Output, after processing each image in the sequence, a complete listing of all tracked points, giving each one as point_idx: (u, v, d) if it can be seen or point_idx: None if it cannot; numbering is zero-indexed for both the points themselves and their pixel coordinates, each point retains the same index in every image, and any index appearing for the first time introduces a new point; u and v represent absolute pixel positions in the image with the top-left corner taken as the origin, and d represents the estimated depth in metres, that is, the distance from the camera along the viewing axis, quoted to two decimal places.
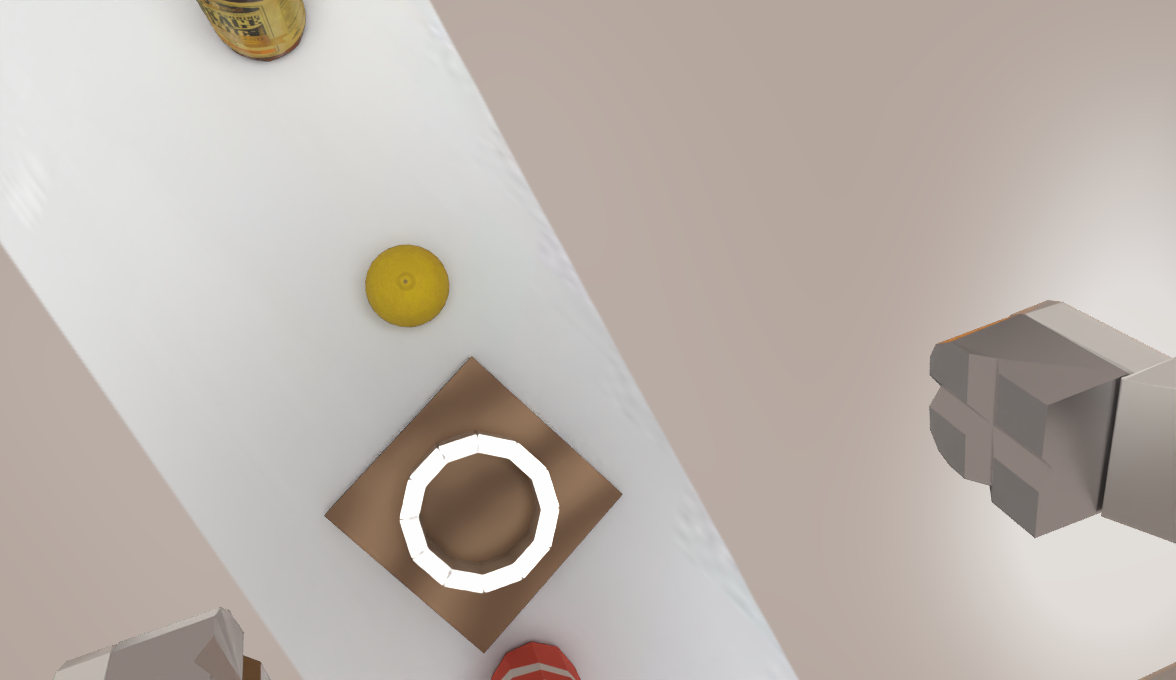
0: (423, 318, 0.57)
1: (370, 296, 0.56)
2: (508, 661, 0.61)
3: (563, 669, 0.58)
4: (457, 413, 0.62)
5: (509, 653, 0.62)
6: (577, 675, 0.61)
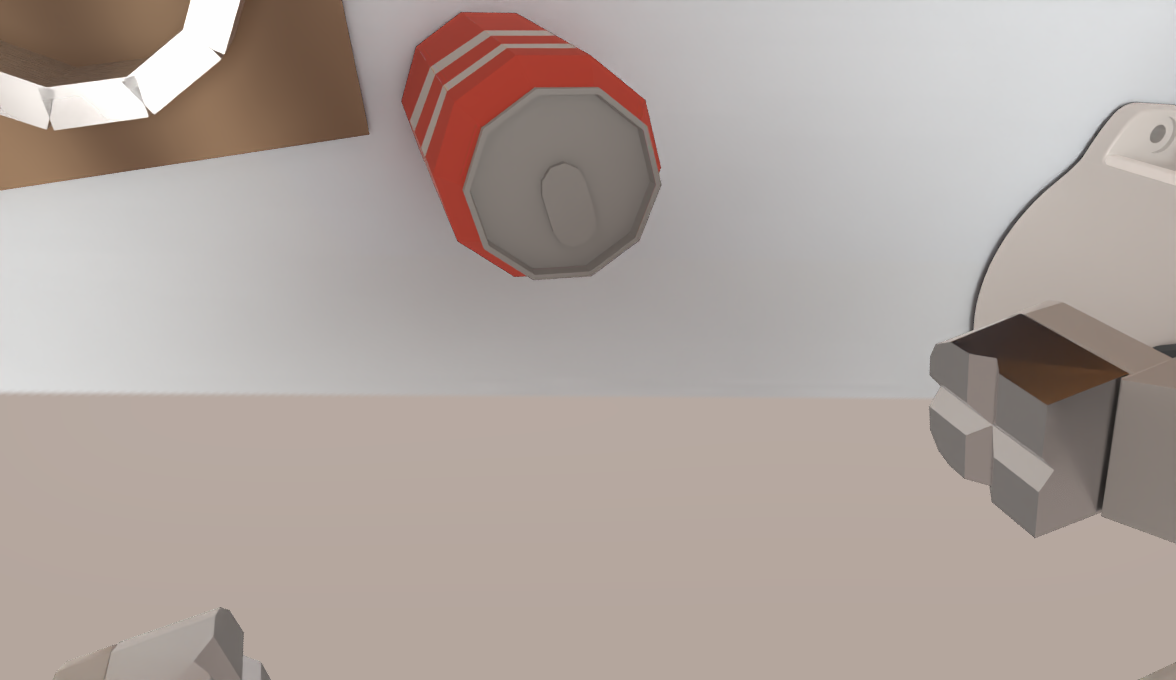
0: None
1: None
2: (405, 110, 0.30)
3: (475, 36, 0.26)
4: None
5: (403, 96, 0.31)
6: (522, 20, 0.29)
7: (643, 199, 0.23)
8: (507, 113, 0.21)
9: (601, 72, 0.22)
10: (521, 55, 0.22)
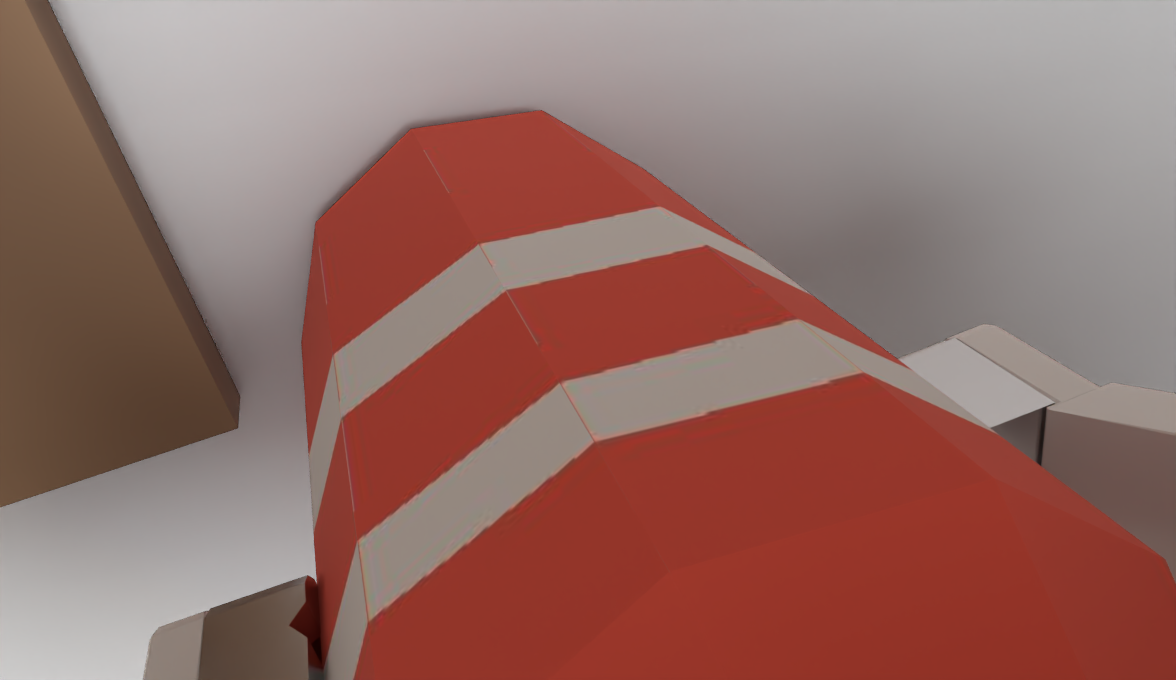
0: None
1: None
2: (305, 392, 0.12)
3: (452, 260, 0.09)
4: None
5: (303, 335, 0.13)
6: (568, 150, 0.11)
7: None
8: None
9: (1055, 555, 0.05)
10: (695, 566, 0.04)
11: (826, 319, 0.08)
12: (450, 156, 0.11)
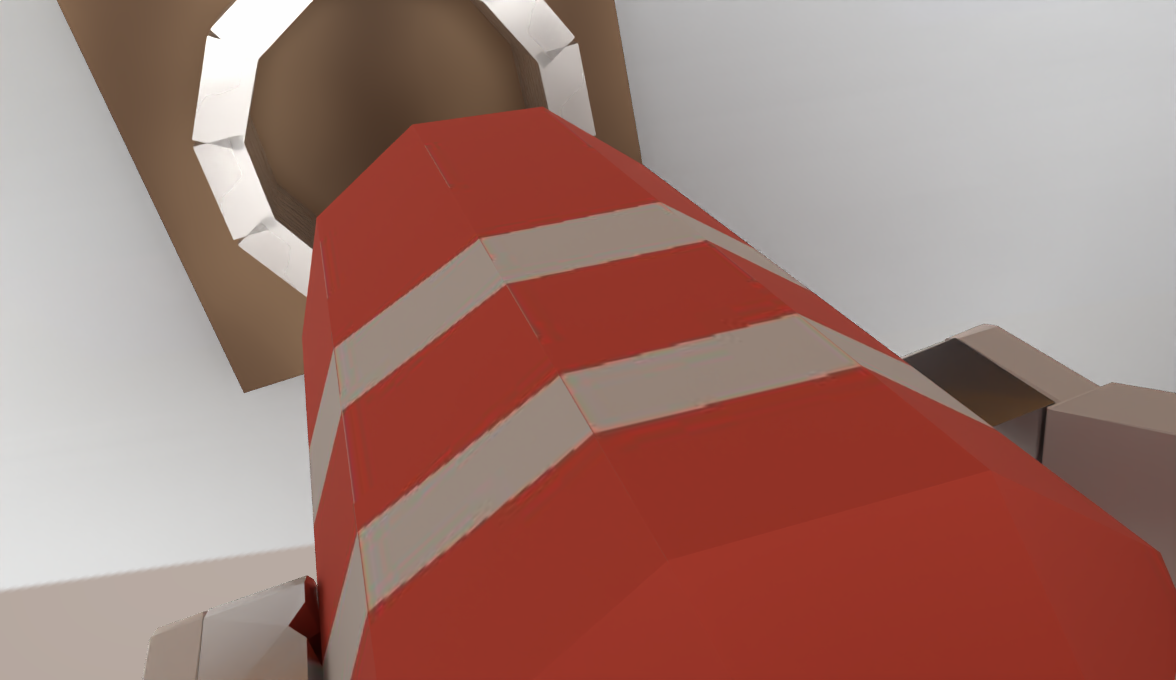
0: None
1: None
2: (306, 386, 0.12)
3: (453, 254, 0.09)
4: (155, 31, 0.24)
5: (304, 330, 0.13)
6: (569, 146, 0.11)
7: None
8: None
9: (1051, 546, 0.05)
10: (693, 555, 0.04)
11: (825, 314, 0.08)
12: (451, 151, 0.11)
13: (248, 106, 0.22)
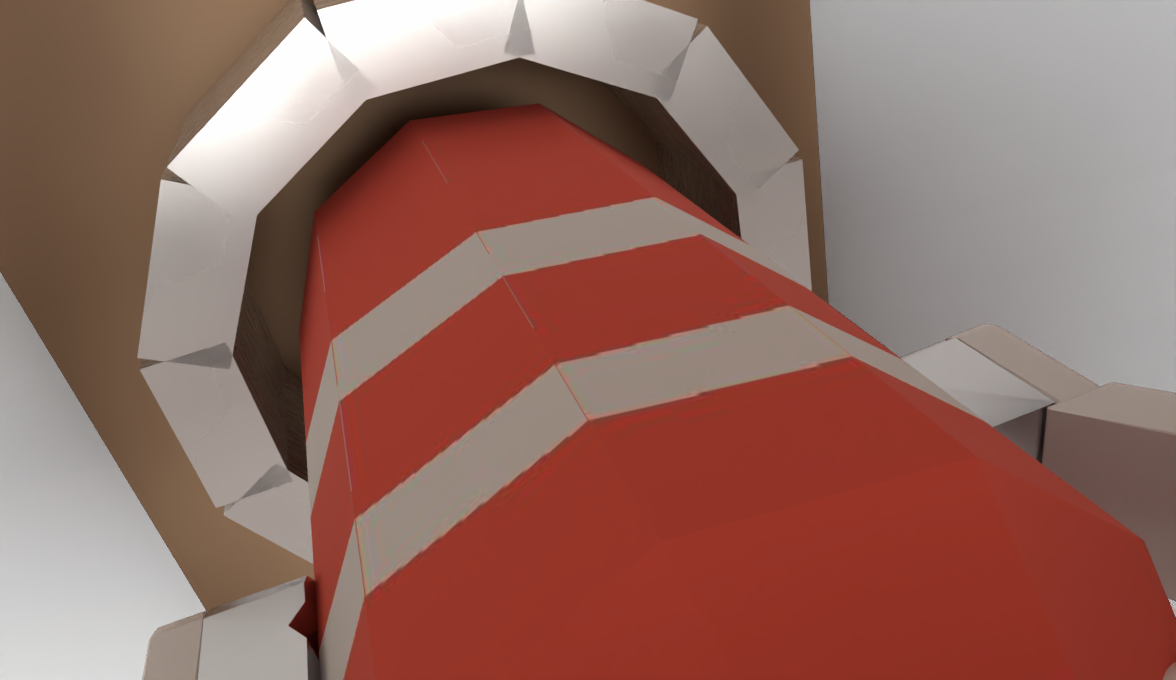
0: None
1: None
2: (303, 380, 0.12)
3: (449, 248, 0.09)
4: (76, 142, 0.14)
5: (300, 324, 0.13)
6: (565, 142, 0.11)
7: None
8: None
9: (1035, 531, 0.05)
10: (684, 538, 0.05)
11: (817, 308, 0.08)
12: (448, 147, 0.11)
13: (240, 295, 0.12)
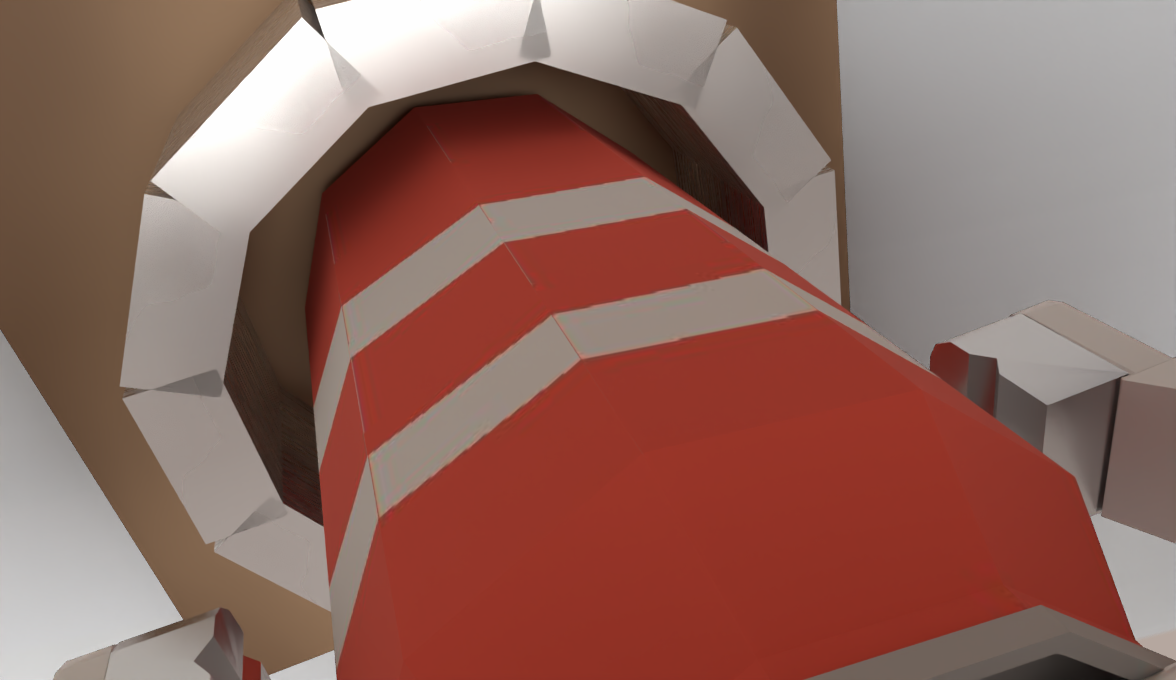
0: None
1: None
2: (309, 351, 0.13)
3: (455, 219, 0.09)
4: (55, 150, 0.13)
5: (307, 300, 0.14)
6: (562, 128, 0.12)
7: None
8: None
9: (972, 454, 0.06)
10: (664, 449, 0.05)
11: (792, 277, 0.09)
12: (451, 131, 0.12)
13: (231, 319, 0.11)
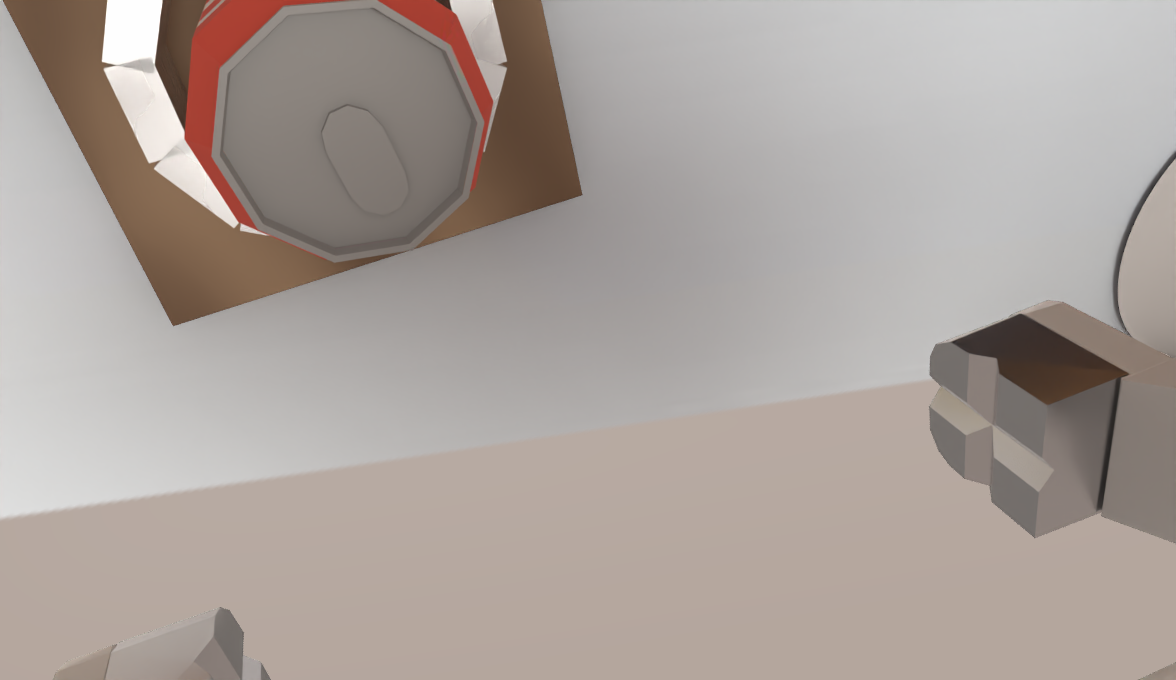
0: None
1: None
2: None
3: None
4: None
5: None
6: None
7: (466, 144, 0.18)
8: (249, 45, 0.16)
9: None
10: None
11: None
12: None
13: (157, 28, 0.22)
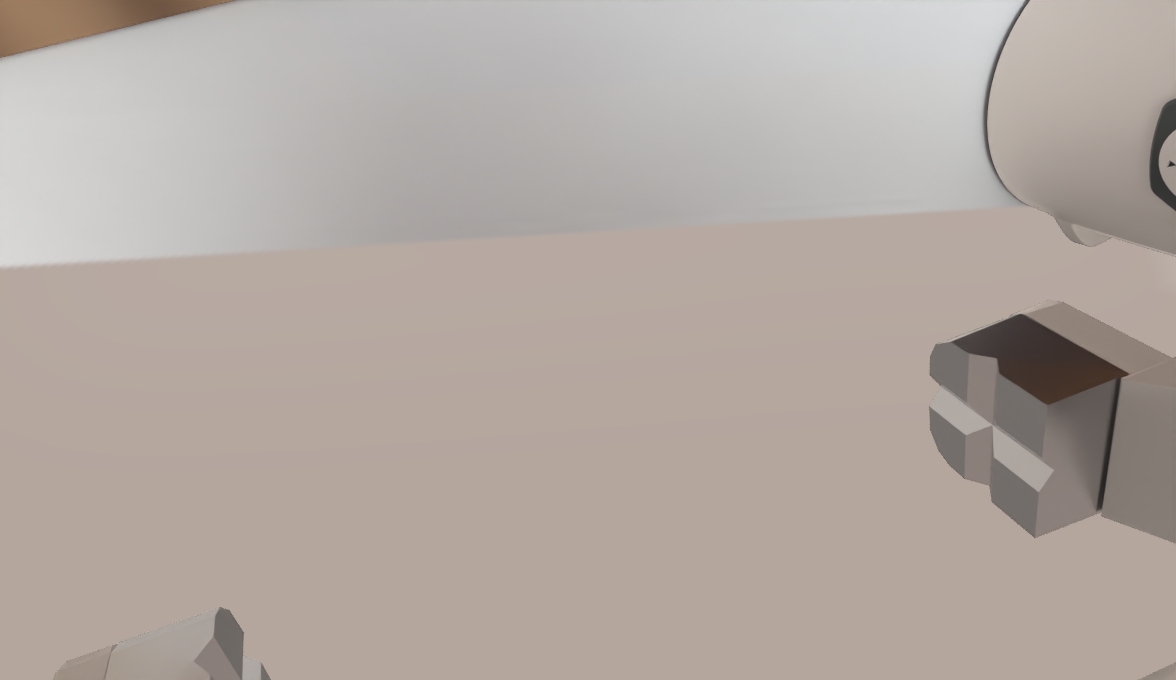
0: None
1: None
2: None
3: None
4: None
5: None
6: None
7: None
8: None
9: None
10: None
11: None
12: None
13: None
